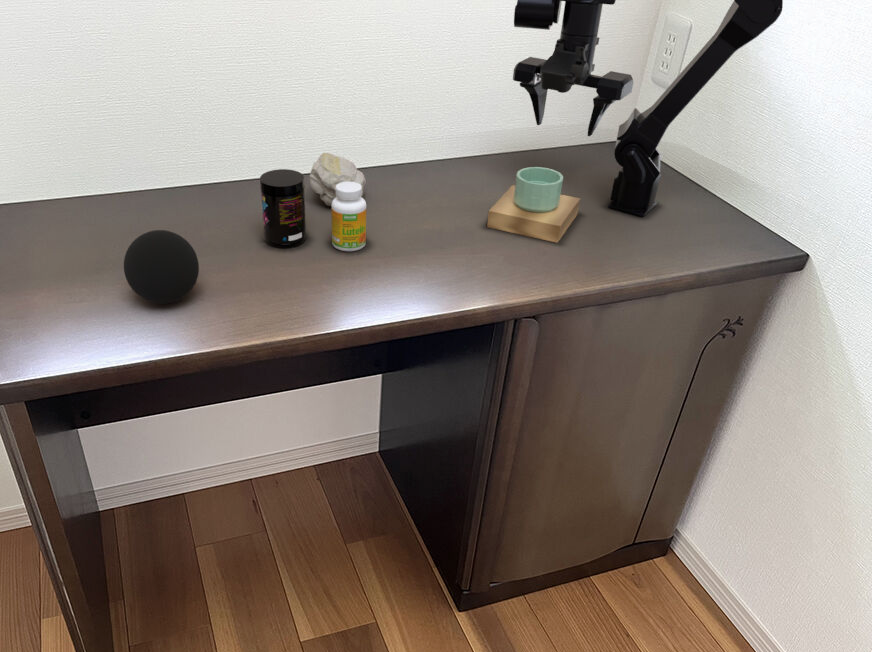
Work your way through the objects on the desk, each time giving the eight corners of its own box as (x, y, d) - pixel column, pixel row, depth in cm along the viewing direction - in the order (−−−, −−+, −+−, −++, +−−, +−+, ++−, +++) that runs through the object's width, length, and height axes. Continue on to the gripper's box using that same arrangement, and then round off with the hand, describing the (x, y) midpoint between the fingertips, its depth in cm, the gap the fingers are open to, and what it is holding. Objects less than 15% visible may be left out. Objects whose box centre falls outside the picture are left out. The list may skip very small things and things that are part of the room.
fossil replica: (350, 184, 146) (300, 198, 143) (344, 139, 141) (293, 152, 138) (380, 204, 137) (328, 219, 134) (376, 156, 132) (321, 171, 129)
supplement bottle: (341, 255, 124) (340, 196, 118) (326, 240, 127) (325, 183, 121) (371, 248, 126) (372, 189, 120) (356, 234, 129) (356, 177, 124)
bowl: (565, 202, 133) (570, 174, 130) (545, 217, 128) (550, 188, 125) (526, 191, 136) (530, 163, 133) (505, 205, 132) (508, 177, 129)
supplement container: (288, 226, 131) (285, 165, 125) (315, 240, 127) (313, 178, 121) (255, 238, 128) (250, 176, 121) (281, 253, 124) (278, 190, 117)
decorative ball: (216, 299, 113) (209, 234, 107) (155, 325, 107) (143, 259, 101) (176, 273, 118) (167, 211, 112) (116, 297, 113) (103, 233, 106)
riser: (577, 214, 136) (580, 198, 134) (557, 243, 128) (560, 225, 126) (510, 200, 141) (512, 184, 139) (486, 227, 132) (488, 210, 130)
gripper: (502, 33, 125) (492, 132, 134) (617, 52, 116) (598, 156, 126) (533, 20, 132) (522, 114, 141) (643, 37, 124) (623, 136, 133)
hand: (563, 130), depth 135 cm, fingers open, 9 cm apart
